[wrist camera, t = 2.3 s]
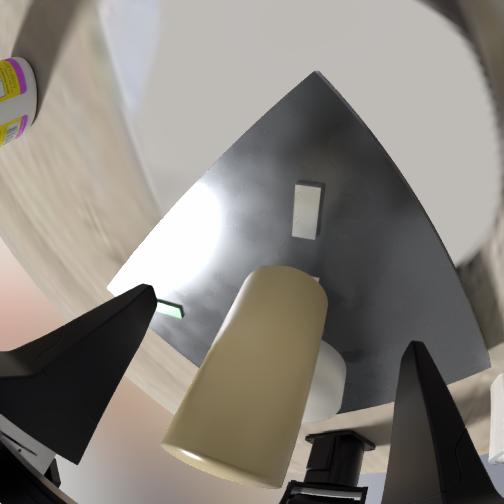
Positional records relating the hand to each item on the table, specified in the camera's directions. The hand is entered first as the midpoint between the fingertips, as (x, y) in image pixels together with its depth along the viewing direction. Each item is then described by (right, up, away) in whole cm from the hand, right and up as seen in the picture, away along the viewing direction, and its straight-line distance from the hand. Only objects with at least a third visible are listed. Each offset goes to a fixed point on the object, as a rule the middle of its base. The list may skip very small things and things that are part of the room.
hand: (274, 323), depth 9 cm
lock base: (+2, -2, +9) cm, 9 cm away
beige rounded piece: (+1, -2, +5) cm, 5 cm away
